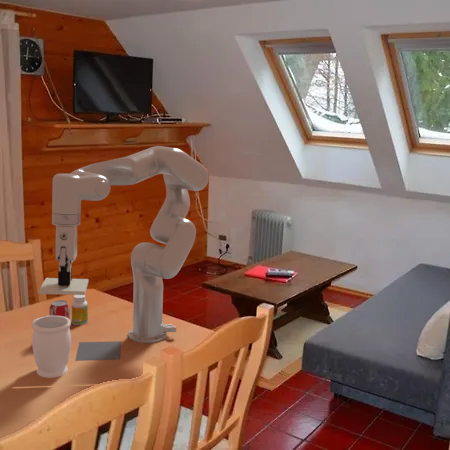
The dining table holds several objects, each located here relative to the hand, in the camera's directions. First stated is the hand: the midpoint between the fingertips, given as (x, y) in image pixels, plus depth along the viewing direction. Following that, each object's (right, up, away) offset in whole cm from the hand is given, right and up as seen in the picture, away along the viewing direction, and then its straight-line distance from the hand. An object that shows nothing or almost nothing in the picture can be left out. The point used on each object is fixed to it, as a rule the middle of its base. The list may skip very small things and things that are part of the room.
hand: (64, 282), depth 157 cm
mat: (+6, -23, +15) cm, 28 cm away
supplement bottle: (-5, -18, +37) cm, 41 cm away
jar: (-4, -26, +1) cm, 26 cm away
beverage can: (-8, -21, +24) cm, 32 cm away
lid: (0, -2, 0) cm, 2 cm away
